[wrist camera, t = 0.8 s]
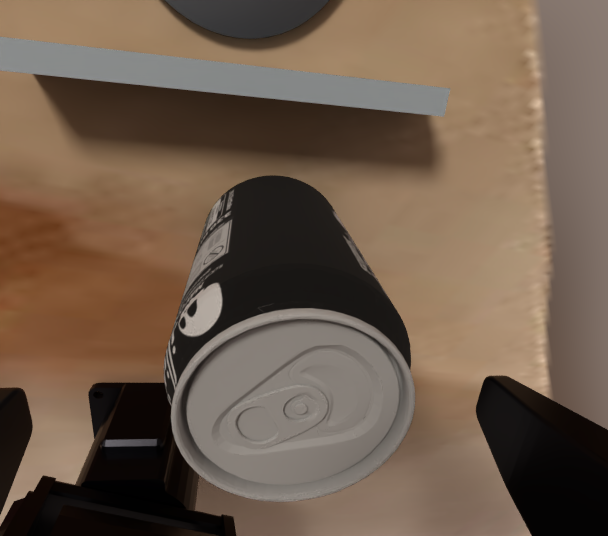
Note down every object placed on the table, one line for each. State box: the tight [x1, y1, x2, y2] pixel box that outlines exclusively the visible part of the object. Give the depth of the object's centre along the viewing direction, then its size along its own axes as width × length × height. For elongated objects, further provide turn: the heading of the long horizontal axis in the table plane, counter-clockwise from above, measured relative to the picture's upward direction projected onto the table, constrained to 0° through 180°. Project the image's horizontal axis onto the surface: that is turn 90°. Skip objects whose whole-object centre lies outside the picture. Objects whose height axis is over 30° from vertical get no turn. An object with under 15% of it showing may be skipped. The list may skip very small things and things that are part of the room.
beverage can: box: [164, 176, 415, 502], centre depth 15 cm, size 7×7×12 cm
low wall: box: [0, 37, 450, 117], centre depth 16 cm, size 1×16×3 cm, turn 84°
